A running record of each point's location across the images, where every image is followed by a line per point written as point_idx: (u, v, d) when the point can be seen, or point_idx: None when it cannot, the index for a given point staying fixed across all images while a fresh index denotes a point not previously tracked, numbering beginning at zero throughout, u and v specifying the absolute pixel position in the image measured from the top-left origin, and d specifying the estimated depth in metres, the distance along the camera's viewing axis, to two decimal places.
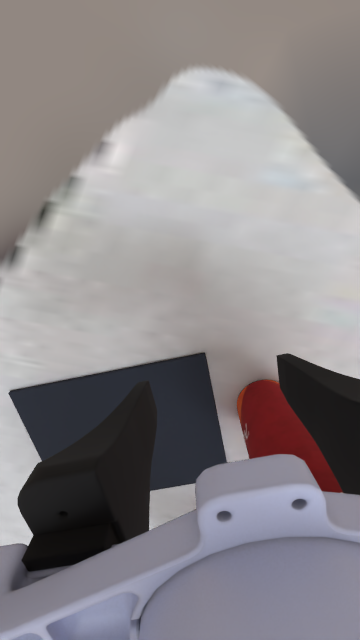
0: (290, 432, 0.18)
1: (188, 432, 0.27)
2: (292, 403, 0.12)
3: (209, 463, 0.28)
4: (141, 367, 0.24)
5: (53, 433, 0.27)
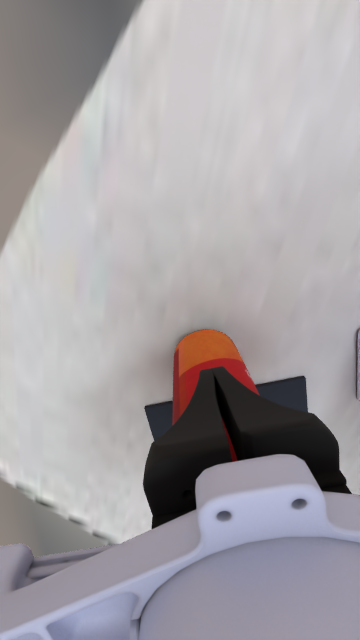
0: None
1: None
2: (223, 416, 0.13)
3: (280, 399, 0.25)
4: None
5: None
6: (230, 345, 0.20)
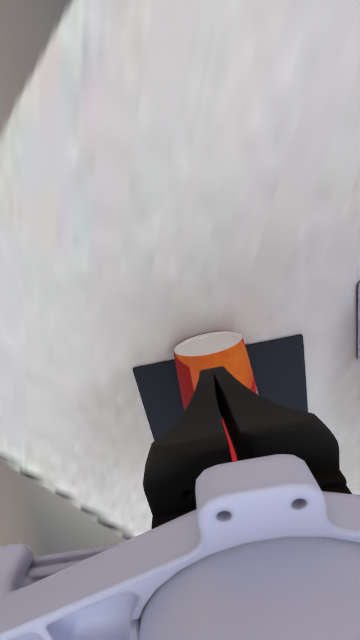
0: None
1: None
2: (223, 416, 0.13)
3: (276, 359, 0.23)
4: (149, 423, 0.26)
5: None
6: (246, 363, 0.19)
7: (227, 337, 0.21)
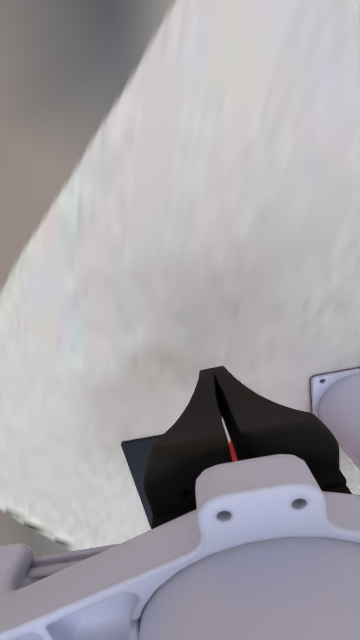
0: None
1: None
2: (223, 416, 0.13)
3: None
4: (136, 486, 0.30)
5: None
6: None
7: None
